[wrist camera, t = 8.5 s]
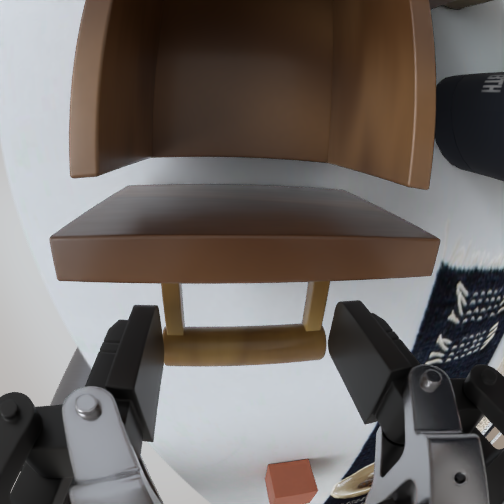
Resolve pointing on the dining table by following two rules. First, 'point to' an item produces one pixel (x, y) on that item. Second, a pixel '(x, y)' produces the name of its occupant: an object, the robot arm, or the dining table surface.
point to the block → (290, 482)
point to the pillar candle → (464, 3)
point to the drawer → (249, 153)
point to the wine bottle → (472, 122)
